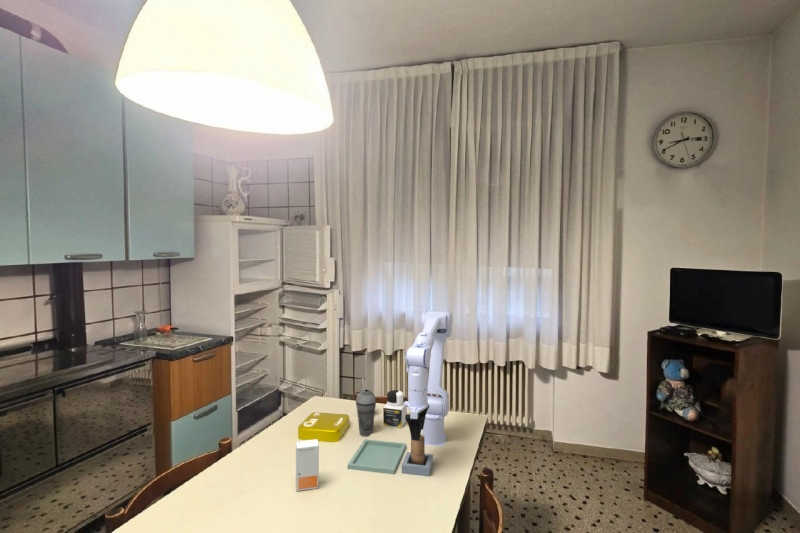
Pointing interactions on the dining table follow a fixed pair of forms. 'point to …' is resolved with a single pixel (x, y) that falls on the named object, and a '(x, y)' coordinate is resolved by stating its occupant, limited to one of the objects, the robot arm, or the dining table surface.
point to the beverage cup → (365, 411)
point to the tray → (377, 456)
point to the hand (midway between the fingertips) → (417, 434)
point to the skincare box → (307, 465)
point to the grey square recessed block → (417, 469)
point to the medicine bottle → (394, 410)
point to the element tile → (323, 427)
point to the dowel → (418, 451)
